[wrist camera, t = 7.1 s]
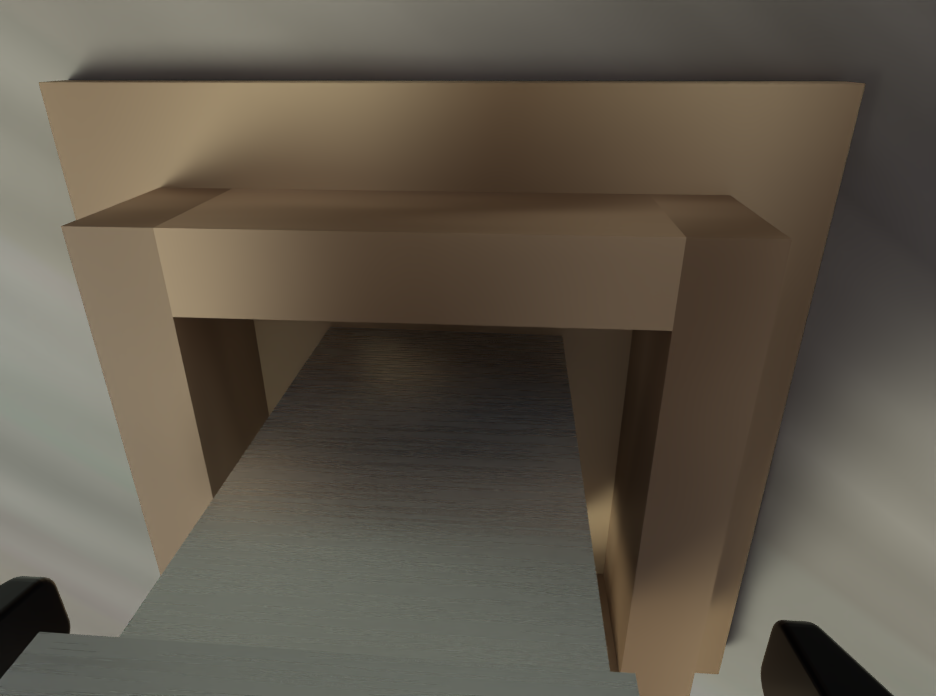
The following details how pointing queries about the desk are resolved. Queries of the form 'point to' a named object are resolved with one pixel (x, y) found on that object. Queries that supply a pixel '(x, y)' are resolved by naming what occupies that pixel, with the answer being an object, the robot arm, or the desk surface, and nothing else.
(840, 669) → the robot arm
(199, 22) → the desk surface
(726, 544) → the frame
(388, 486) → the stepped grey box
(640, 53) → the desk surface
